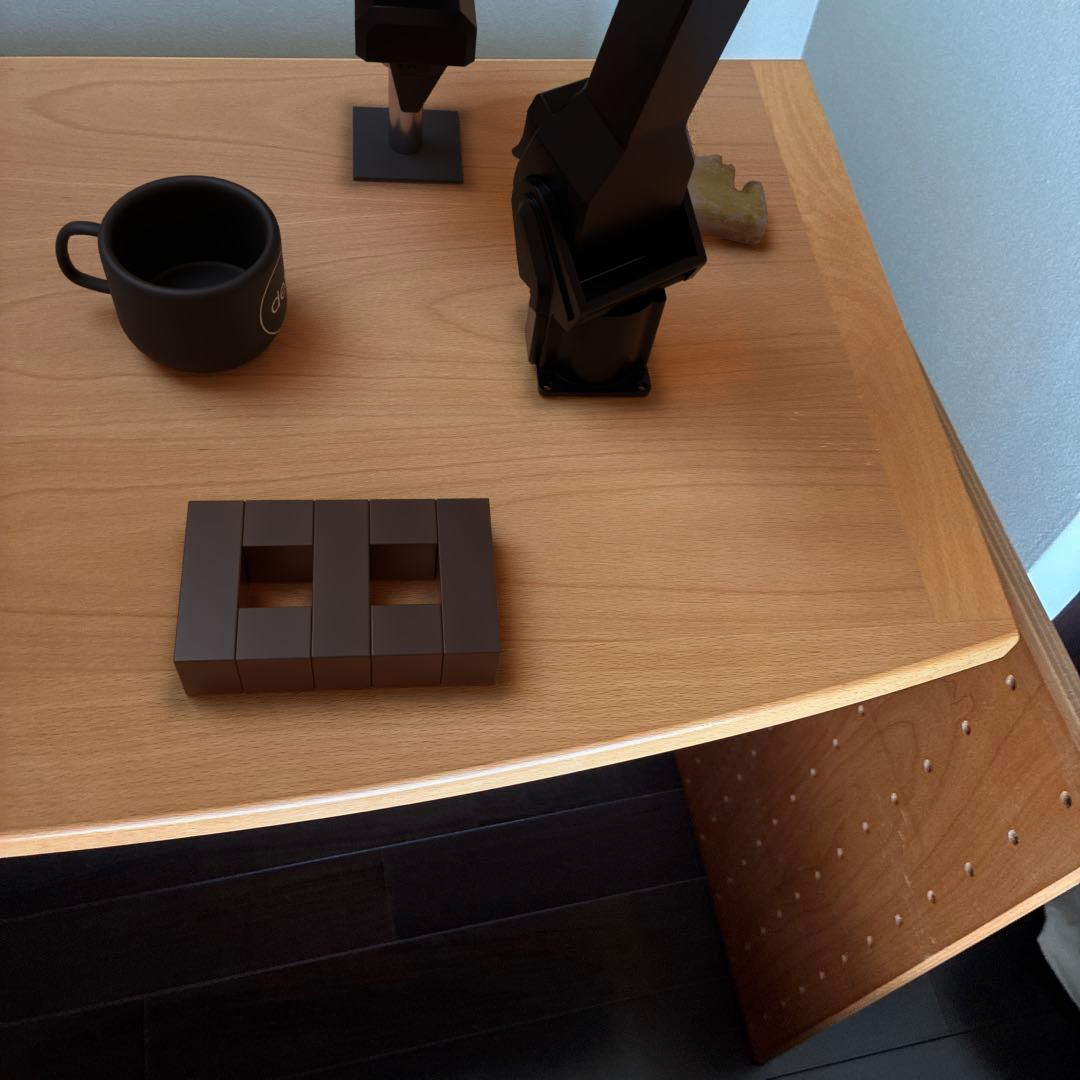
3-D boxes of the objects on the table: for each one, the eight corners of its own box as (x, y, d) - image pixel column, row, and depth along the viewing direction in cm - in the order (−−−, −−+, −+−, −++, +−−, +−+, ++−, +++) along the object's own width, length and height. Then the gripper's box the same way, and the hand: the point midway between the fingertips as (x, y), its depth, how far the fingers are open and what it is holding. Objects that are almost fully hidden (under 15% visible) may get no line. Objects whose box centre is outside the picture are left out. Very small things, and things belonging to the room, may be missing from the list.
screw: (433, 125, 73) (438, 13, 66) (435, 163, 71) (440, 51, 64) (375, 123, 72) (374, 9, 66) (376, 161, 70) (375, 48, 64)
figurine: (756, 156, 72) (535, 116, 68) (785, 179, 68) (551, 137, 64) (733, 234, 75) (519, 199, 71) (760, 260, 70) (533, 225, 66)
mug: (306, 285, 64) (297, 187, 58) (269, 402, 59) (256, 309, 53) (100, 252, 64) (71, 150, 58) (46, 367, 59) (7, 269, 53)
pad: (457, 114, 74) (458, 110, 74) (463, 184, 71) (463, 180, 70) (352, 109, 73) (352, 106, 73) (353, 180, 70) (352, 176, 69)
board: (483, 535, 57) (489, 497, 54) (495, 685, 52) (501, 652, 49) (198, 539, 54) (187, 499, 52) (185, 695, 50) (172, 661, 47)
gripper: (256, -300, 58) (279, -18, 71) (237, -112, 49) (268, 174, 62) (465, -280, 60) (451, -8, 73) (487, -94, 50) (466, 181, 63)
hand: (408, 77), depth 68 cm, fingers open, 6 cm apart
